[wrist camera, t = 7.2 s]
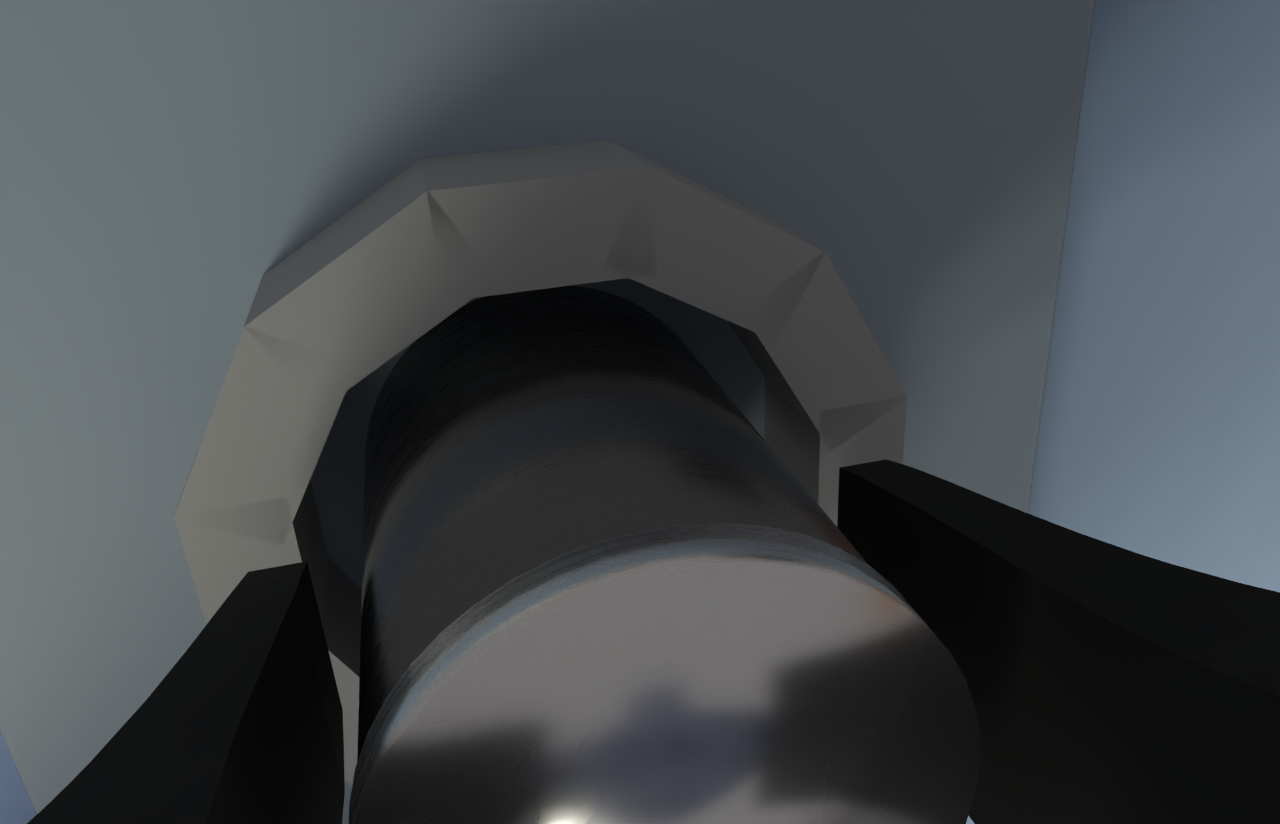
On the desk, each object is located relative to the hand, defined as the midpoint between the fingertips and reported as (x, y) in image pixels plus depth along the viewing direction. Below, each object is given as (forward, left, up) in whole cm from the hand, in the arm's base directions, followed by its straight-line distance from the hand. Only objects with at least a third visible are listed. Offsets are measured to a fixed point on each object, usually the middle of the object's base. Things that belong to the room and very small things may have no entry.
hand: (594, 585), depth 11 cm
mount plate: (0, 0, -5) cm, 5 cm away
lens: (0, 0, -3) cm, 3 cm away
